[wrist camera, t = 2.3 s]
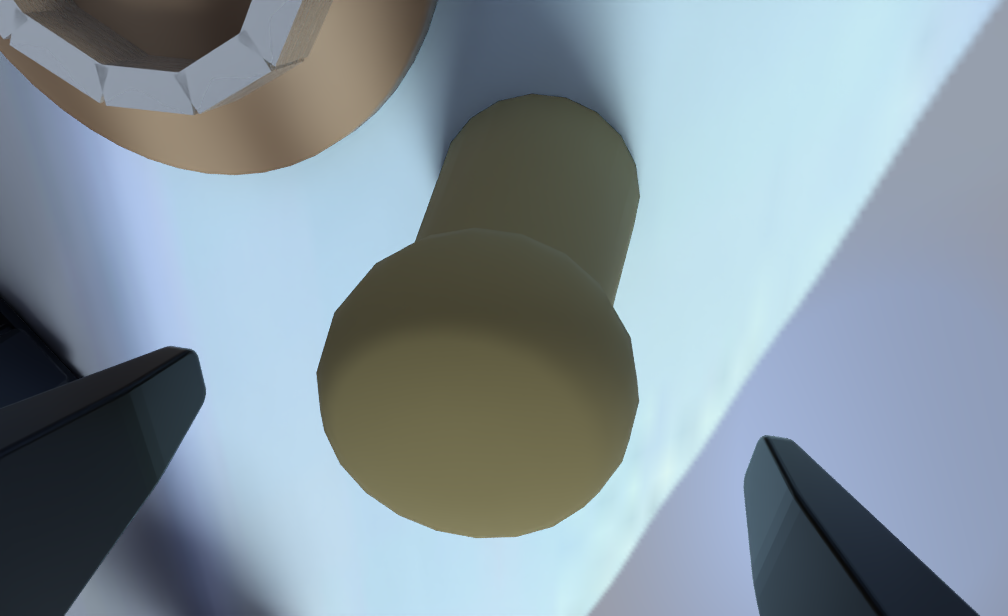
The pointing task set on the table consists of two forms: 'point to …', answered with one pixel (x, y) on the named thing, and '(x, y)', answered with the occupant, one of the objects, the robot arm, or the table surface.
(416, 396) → the cork
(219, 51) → the socket ring
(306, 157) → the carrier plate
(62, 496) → the robot arm
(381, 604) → the table surface
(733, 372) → the table surface
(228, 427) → the table surface
